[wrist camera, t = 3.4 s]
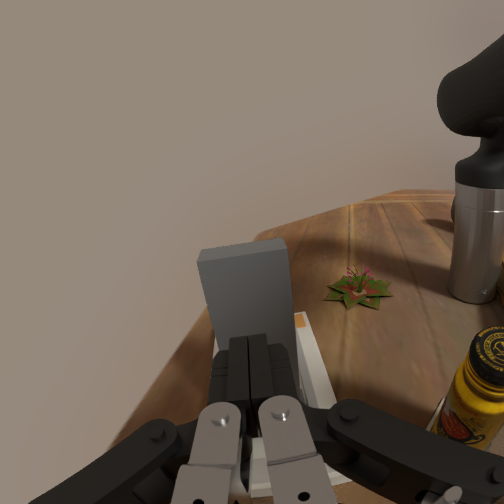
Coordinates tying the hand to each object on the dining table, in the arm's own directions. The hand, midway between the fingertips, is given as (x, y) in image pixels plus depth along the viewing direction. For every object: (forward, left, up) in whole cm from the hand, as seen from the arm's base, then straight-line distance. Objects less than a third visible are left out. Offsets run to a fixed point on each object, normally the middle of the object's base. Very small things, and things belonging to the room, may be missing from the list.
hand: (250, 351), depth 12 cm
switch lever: (-5, -4, -13) cm, 15 cm away
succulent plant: (-33, -6, -16) cm, 37 cm away
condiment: (-10, +13, -16) cm, 23 cm away
